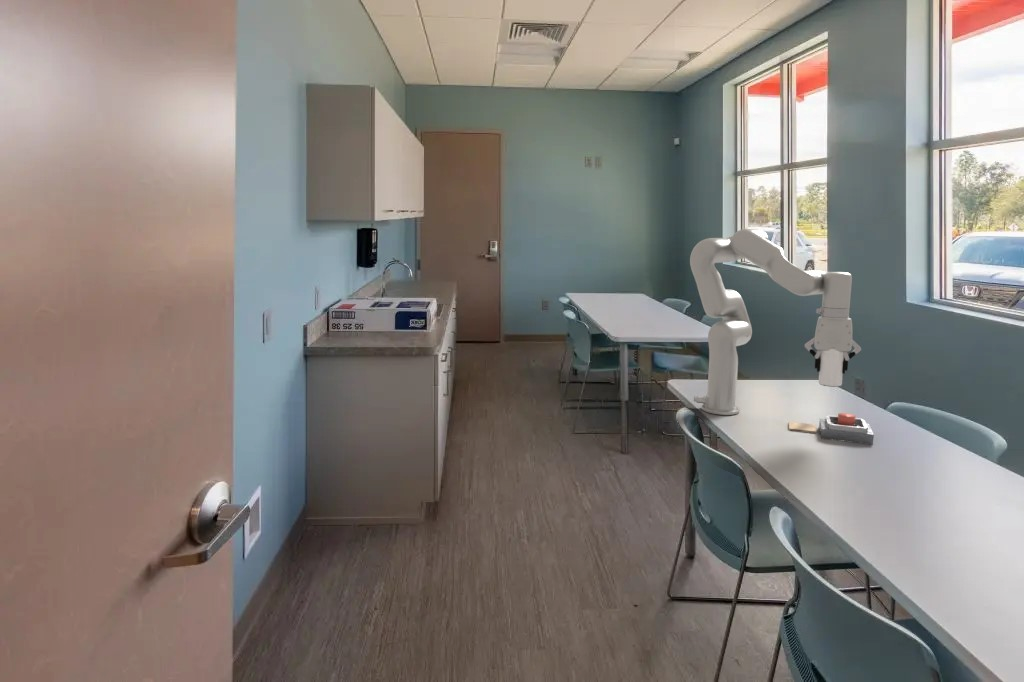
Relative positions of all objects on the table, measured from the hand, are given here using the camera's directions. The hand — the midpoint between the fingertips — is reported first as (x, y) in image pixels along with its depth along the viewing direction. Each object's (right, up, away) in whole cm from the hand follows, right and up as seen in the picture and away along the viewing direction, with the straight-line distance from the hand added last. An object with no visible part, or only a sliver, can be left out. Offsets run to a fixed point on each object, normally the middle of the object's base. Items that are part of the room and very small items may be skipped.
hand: (830, 371), depth 202 cm
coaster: (-4, -19, +10) cm, 21 cm away
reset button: (+6, -16, +2) cm, 18 cm away
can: (0, -4, +1) cm, 4 cm away
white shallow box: (+6, -20, +3) cm, 21 cm away
